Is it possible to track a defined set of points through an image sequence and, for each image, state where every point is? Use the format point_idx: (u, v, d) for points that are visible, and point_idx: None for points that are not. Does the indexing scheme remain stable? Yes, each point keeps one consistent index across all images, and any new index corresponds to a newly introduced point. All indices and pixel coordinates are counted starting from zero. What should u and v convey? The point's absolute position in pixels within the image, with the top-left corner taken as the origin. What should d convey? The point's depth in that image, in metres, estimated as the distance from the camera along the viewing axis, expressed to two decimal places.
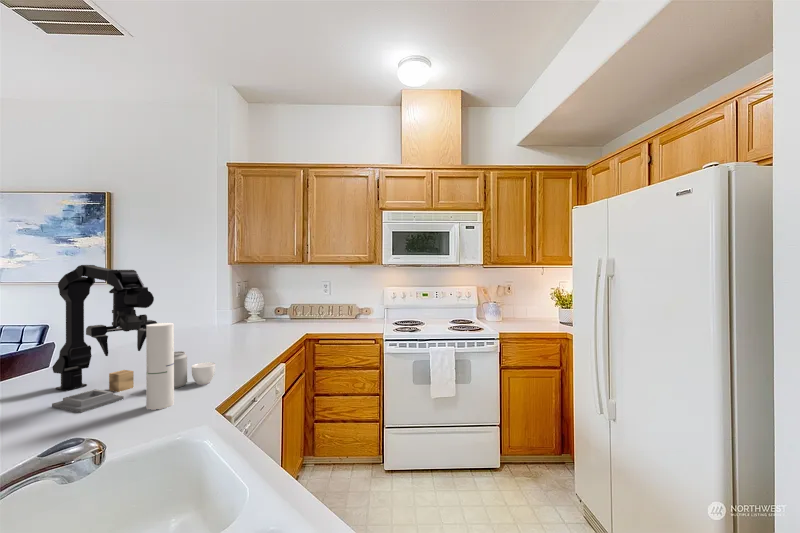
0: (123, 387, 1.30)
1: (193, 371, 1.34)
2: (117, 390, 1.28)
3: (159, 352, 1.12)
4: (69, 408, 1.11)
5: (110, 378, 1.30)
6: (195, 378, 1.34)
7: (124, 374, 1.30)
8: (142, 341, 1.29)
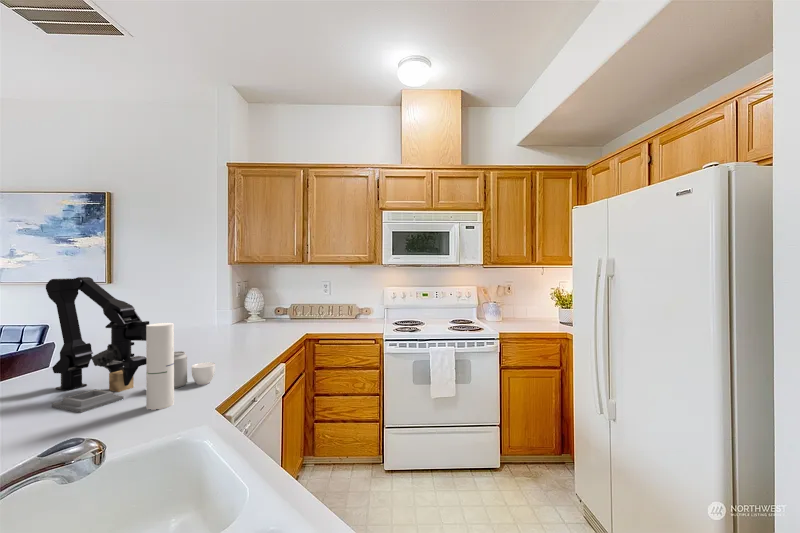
0: (123, 387, 1.30)
1: (193, 371, 1.34)
2: (117, 390, 1.29)
3: (159, 352, 1.12)
4: (69, 408, 1.11)
5: (110, 378, 1.30)
6: (195, 378, 1.34)
7: None
8: (124, 377, 1.29)
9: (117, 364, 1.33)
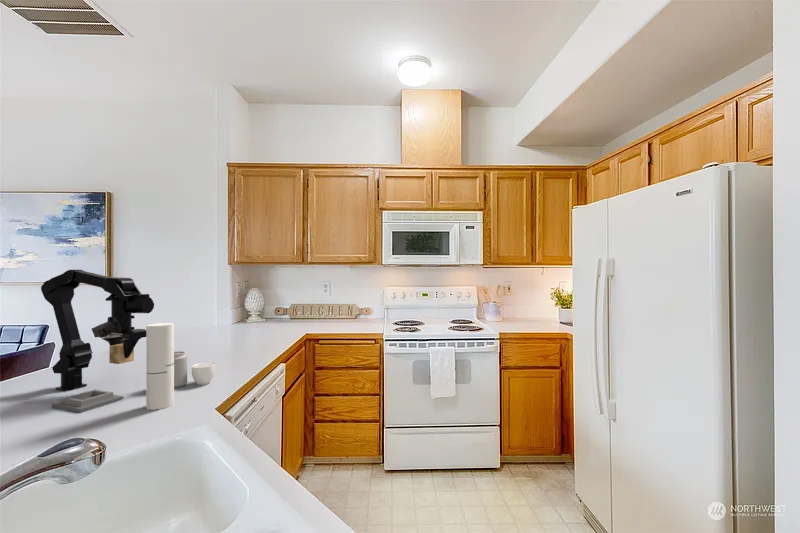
0: (123, 360, 1.30)
1: (193, 371, 1.34)
2: (117, 362, 1.29)
3: (159, 352, 1.12)
4: (69, 408, 1.11)
5: (110, 350, 1.30)
6: (195, 378, 1.34)
7: None
8: (124, 349, 1.29)
9: (117, 337, 1.34)
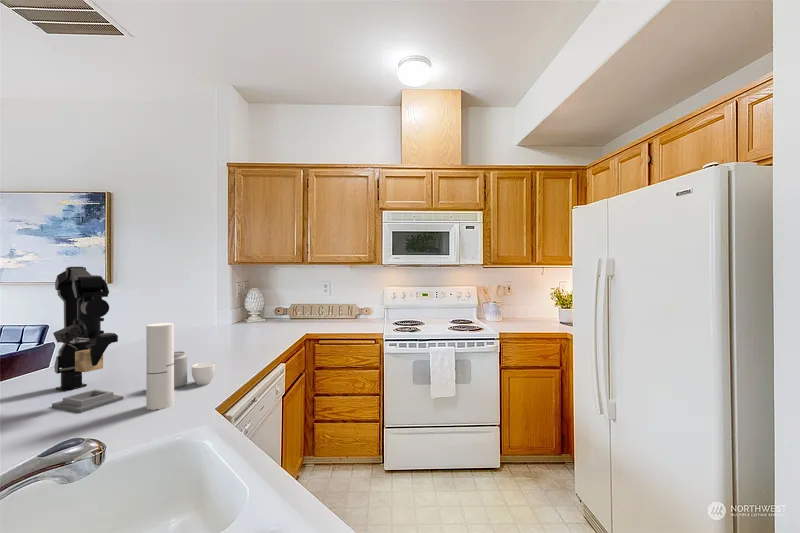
0: (90, 367, 1.16)
1: (193, 371, 1.34)
2: (84, 370, 1.15)
3: (159, 352, 1.12)
4: (69, 408, 1.11)
5: (76, 357, 1.16)
6: (195, 378, 1.34)
7: None
8: (91, 355, 1.16)
9: (85, 342, 1.20)
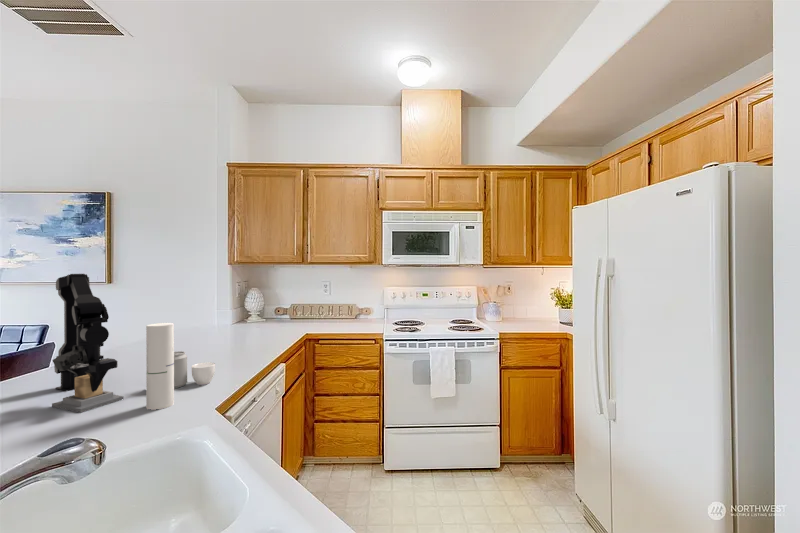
0: (90, 393, 1.16)
1: (193, 371, 1.34)
2: (83, 396, 1.15)
3: (159, 352, 1.12)
4: (69, 408, 1.11)
5: (76, 383, 1.16)
6: (195, 378, 1.34)
7: None
8: (91, 381, 1.15)
9: (84, 367, 1.20)
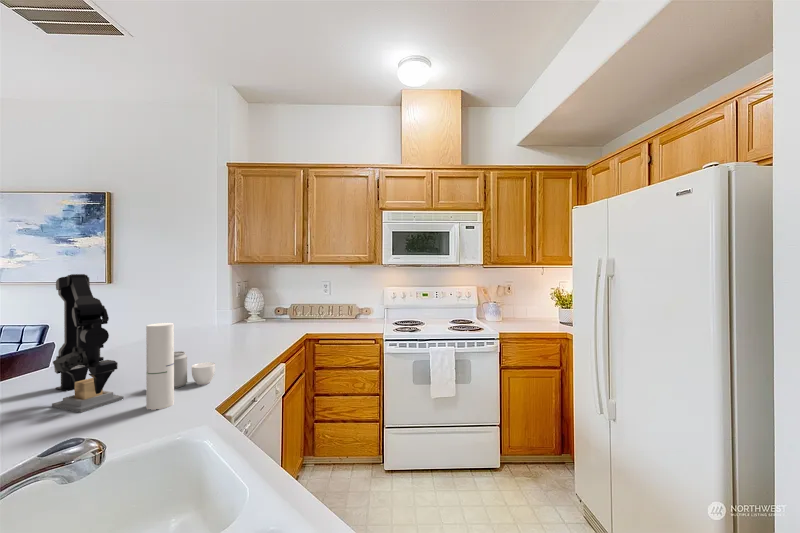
0: None
1: (193, 371, 1.34)
2: None
3: (159, 352, 1.12)
4: (69, 408, 1.11)
5: (76, 387, 1.16)
6: (195, 378, 1.34)
7: (91, 383, 1.16)
8: (95, 384, 1.15)
9: (81, 368, 1.20)
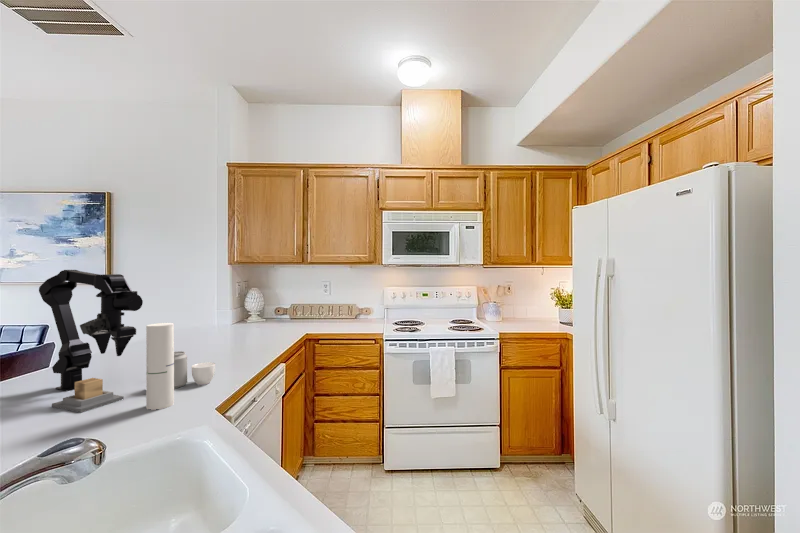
0: None
1: (193, 371, 1.34)
2: None
3: (159, 352, 1.12)
4: (69, 408, 1.11)
5: (76, 387, 1.16)
6: (195, 378, 1.34)
7: (91, 383, 1.16)
8: (116, 347, 1.27)
9: (104, 334, 1.33)
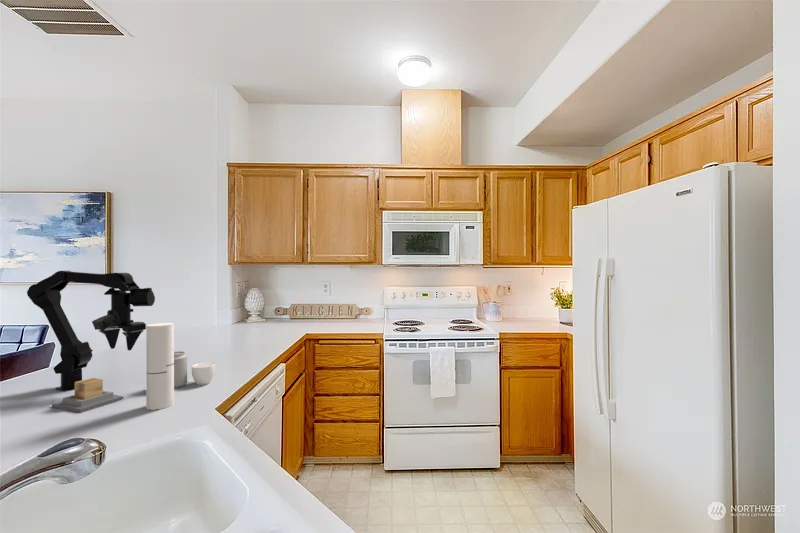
0: None
1: (193, 371, 1.34)
2: None
3: (159, 352, 1.12)
4: (69, 408, 1.11)
5: (76, 387, 1.16)
6: (195, 378, 1.34)
7: (91, 383, 1.16)
8: (127, 341, 1.33)
9: (113, 330, 1.39)
